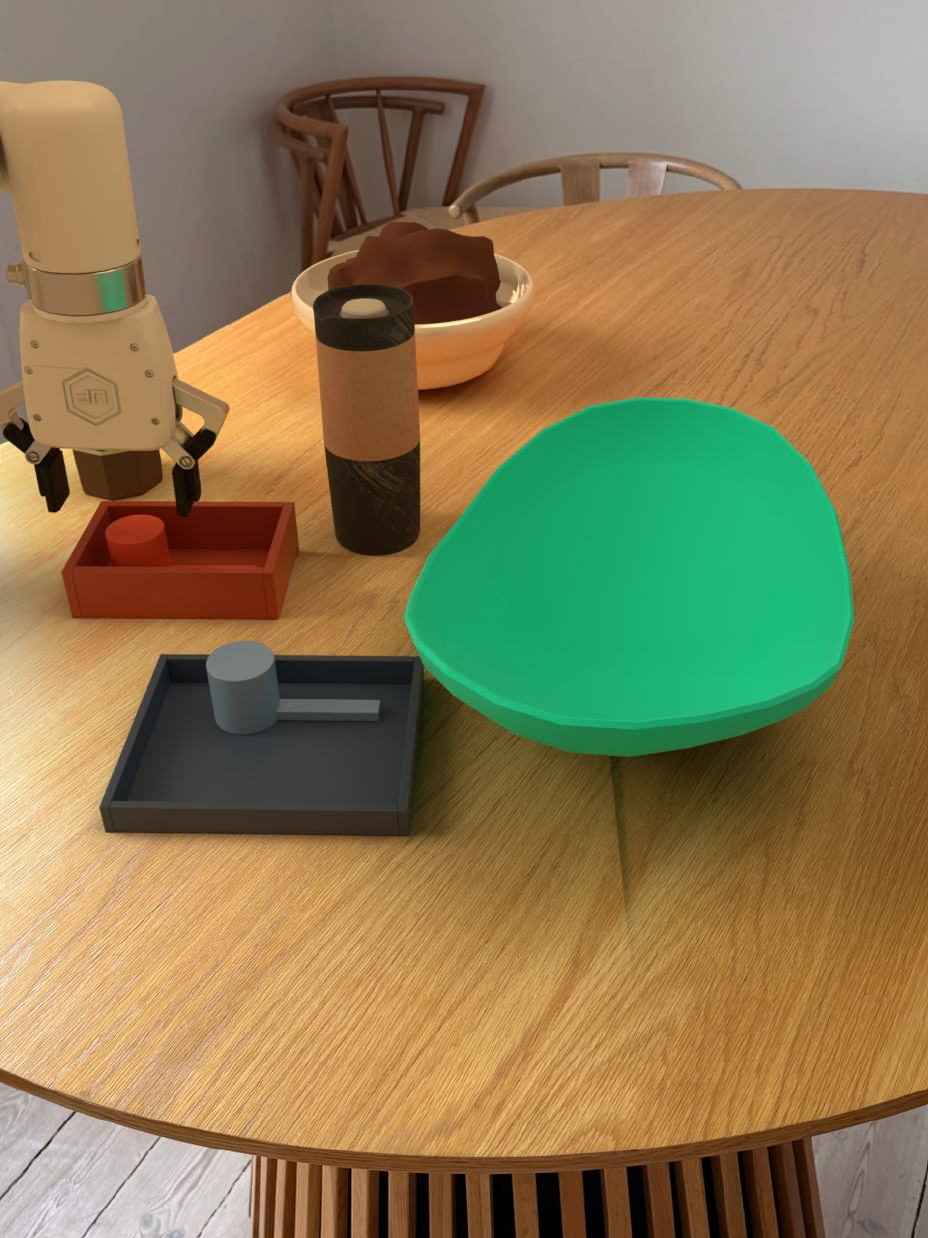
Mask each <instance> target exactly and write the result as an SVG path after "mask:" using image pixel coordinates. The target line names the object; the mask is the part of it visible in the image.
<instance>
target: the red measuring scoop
mask: <svg viewBox="0 0 928 1238" xmlns="http://www.w3.org/2000/svg"><path fill="white" fill-rule="evenodd" d="M105 534H106V539H107V544H108V548H109V553H110V558H111V563H112V567H258V566H229V565H171V560H170V555H169V549H168V544H167V538H166V532H165V527H164V523H163V521H162V520H161V519H159V518H157V517H155V516H151V515H132V516H127V517H123V518H121V519H118V520H116V521H114V522H113V523H111V524H110V525H109V526H108V527H107V529H106V533H105Z"/></svg>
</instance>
